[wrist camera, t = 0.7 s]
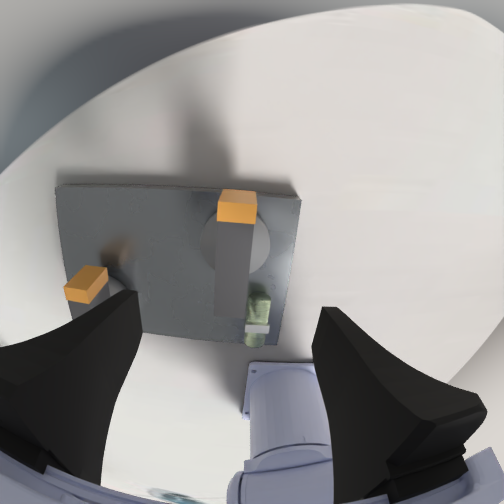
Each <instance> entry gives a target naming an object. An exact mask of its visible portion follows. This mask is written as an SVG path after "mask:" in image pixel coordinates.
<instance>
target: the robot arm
mask: <svg viewBox="0 0 504 504" xmlns="http://www.w3.org/2000/svg"><path fill="white" fill-rule="evenodd" d="M142 333H143V329H142V322H141V315H140V307H139V299H138V291H134V290H127V289H123V290H121V291H119V292H118V293H116V294H114V295H113V296H111V297H109V298H108V299H106V300H105V301H103V302H102V303H100V304H99V305H97V306H95V307H94V308H92V309H91V310H89V311H88V312H86V313H84V314H82V315H81V316H79V317H77V318H75V319H74V320H72V321H70V322H69V323H67V324H65V325H63V326H61V327H59V328H57V329H55V330H52V331H50V332H48V333H46V334H43V335H40V336H38V337H35V338H32V339H29V340H27V341H24V342H20V343H17V344H13V345H9V346H5V347H0V504H170V503H164V502H159V501H154V500H150V499H145V498H141V497H137V496H133V495H129V494H125V493H122V492H118V491H115V490H111V489H108V488H105V487H102V486H101V473H102V464H103V456H104V450H105V444H106V439H107V434H108V430H109V425H110V421H111V417H112V413H113V410H114V406H115V402H116V400H117V397H118V394H119V392H120V390H121V387H122V385H123V383H124V380H125V378H126V376H127V374H128V371H129V369H130V367H131V365H132V362H133V360H134V358H135V356H136V353H137V350H138V347H139V344H140V340H141V337H142ZM311 347H312V355H313V362H314V363H273V362H251V363H250V364H249V368H248V375H247V383H246V390H245V398H244V405H243V413H242V418H243V419H244V420H250V460H245V461H244V471H239V472H237V473H236V474H235V475H234V477H233V478H232V479H231V480H230V482H229V485H228V489H227V504H499V503H500V502H501V501H503V500H504V473H503V471H502V469H501V466H500V464H499V462H498V460H497V458H496V456H495V454H494V452H493V450H492V448H491V447H488V448H486V449H484V450H482V451H481V452H479V453H477V454H475V455H473V456H471V457H470V458H468V459H466V460H465V461H464V458H463V456H462V455H463V454H464V453H465V452H466V449H465V447H464V445H463V444H464V443H465V442H466V440H468V439H469V437H470V436H471V435H472V434H473V433H474V432H475V431H476V430H477V429H478V428H479V427H480V425H481V424H482V423H483V421H484V420H485V418H486V415H487V409H486V408H485V406H484V404H483V403H482V401H481V399H480V398H479V396H478V394H476V393H473V392H469V391H466V390H462V389H459V388H456V387H453V386H451V385H448V384H446V383H443V382H441V381H438V380H436V379H434V378H432V377H430V376H428V375H426V374H424V373H422V372H420V371H418V370H416V369H415V368H413V367H411V366H409V365H408V364H406V363H405V362H403V361H402V360H400V359H399V358H397V357H396V356H394V355H393V354H391V353H390V352H389V351H387V350H386V349H385V348H384V347H382V346H381V345H380V344H378V343H377V342H376V341H375V340H374V339H372V338H371V337H370V336H369V335H368V334H367V333H365V332H364V331H363V330H362V329H361V328H360V327H359V326H358V325H357V324H356V323H354V322H353V321H352V320H351V319H350V318H349V317H348V316H347V315H346V314H345V313H343V312H342V311H341V310H340V309H339V308H337V307H322V310H321V313H320V317H319V321H318V325H317V328H316V332H315V335H314V339H313V342H312V346H311ZM253 370H254V371H253Z"/></svg>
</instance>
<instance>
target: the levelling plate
mask: <svg viewBox="0 0 504 504" xmlns="http://www.w3.org/2000/svg"><path fill="white" fill-rule="evenodd" d="M222 191H223V189H213V188H198V187H180V186H158V185H124V184H63V185H61V186H58V187H56V188H55V194H56V207H57V217H58V226H59V234H60V241H61V248H62V254H63V260H64V266H65V271H66V276H67V281H68V282H69V281H70V280H71V279H72V278H73V277H74V276H75V275H76V274H77V273H78V272H79V271H80V270H81V269H82V268H83V267H84V266H85V265H90V266H98V267H106V268H107V272H108V276H111V277H113V278H115V279H117V280H118V281H119V282H121V283H122V284H123V285H124V286H125V287H126V289H127V290H134V291H138V299H139V307H140V315H141V322H142V329H143V332H144V333H151V334H158V335H165V336H173V337H181V338H190V339H199V340H209V341H219V342H231V343H245V344H246V345H247V346H249V347H251V348H259V347H261V346H263V345H277V342H278V337H279V332H280V327H281V321H282V316H283V311H284V305H285V300H286V294H287V289H288V283H289V277H290V271H291V265H292V259H293V253H294V247H295V241H296V234H297V228H298V221H299V215H300V208H301V201H302V200H301V199H300V198H299V196H291V195H281V194H272V193H262V192H256V198H257V214H258V215H259V216H260V217H261V218H262V219H263V221H264V222H265V224H266V226H267V229H268V233H269V238H270V251H269V254H268V257H267V259H266V261H265V262H264V264H263V265H262V266H261V267H260V268H259V269H257V270H256V271H254V272H252V273H250V274H249V280H248V290H247V300H246V310H245V319H243V318H230V317H219V316H214V288H215V270H214V269H212V268H211V267H210V266H209V265H208V263H207V262H206V261H205V259H204V257H203V255H202V252H201V248H200V239H201V234H202V232H203V229H204V227H205V225H206V223H207V221H208V220H209V218H210V217H211V216H212V215H213V214H215V213H216V212H217V208H218V200H219V198H220V196H221V193H222Z"/></svg>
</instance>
